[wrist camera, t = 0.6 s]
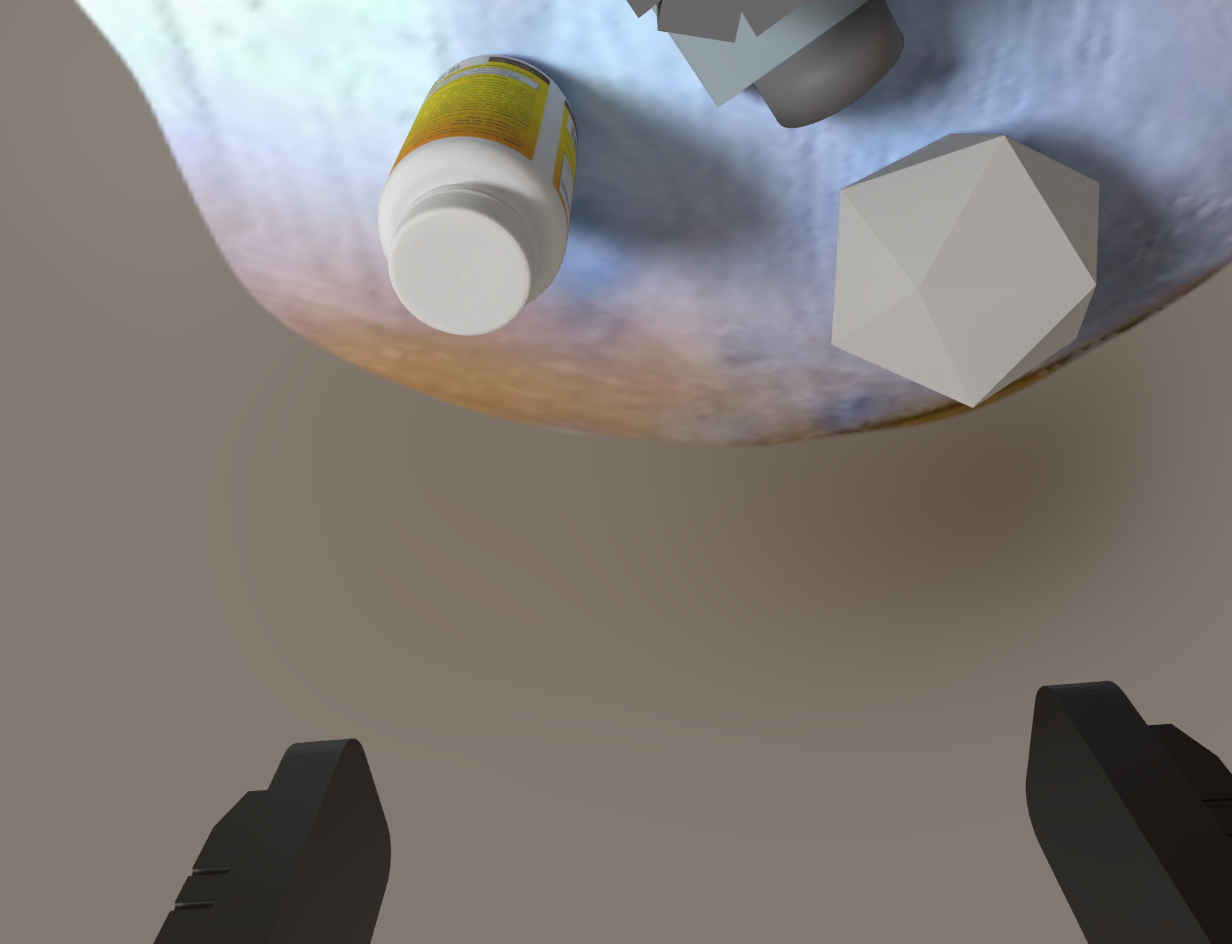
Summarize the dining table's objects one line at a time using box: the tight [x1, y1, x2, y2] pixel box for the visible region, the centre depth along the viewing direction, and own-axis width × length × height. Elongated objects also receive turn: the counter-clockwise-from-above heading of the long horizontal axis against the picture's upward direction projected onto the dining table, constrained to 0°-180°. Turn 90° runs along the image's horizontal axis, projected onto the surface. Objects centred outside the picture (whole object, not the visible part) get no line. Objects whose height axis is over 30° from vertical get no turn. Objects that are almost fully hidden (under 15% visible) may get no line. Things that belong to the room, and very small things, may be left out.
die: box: [832, 134, 1100, 408], centre depth 31 cm, size 8×9×10 cm
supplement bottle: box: [377, 55, 578, 335], centre depth 29 cm, size 6×6×10 cm
